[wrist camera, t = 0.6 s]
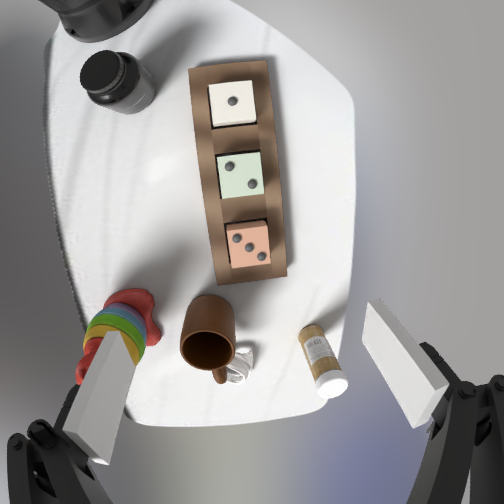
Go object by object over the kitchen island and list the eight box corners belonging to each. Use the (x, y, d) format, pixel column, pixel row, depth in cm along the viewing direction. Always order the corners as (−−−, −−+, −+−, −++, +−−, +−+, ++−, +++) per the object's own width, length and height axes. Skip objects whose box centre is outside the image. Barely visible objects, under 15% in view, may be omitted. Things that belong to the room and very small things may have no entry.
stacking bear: (163, 342, 44) (142, 424, 28) (111, 340, 44) (77, 413, 27) (152, 288, 41) (116, 366, 24) (96, 287, 40) (44, 356, 23)
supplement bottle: (147, 119, 32) (113, 107, 21) (106, 110, 31) (61, 99, 20) (164, 73, 30) (139, 44, 19) (122, 66, 29) (85, 40, 18)
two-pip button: (217, 157, 33) (216, 157, 30) (257, 152, 34) (260, 152, 31) (222, 195, 35) (222, 199, 32) (261, 190, 35) (264, 194, 32)
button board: (190, 72, 30) (188, 68, 28) (264, 64, 31) (266, 60, 29) (217, 279, 41) (217, 285, 39) (284, 270, 41) (287, 276, 40)
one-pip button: (210, 90, 30) (208, 84, 27) (249, 86, 30) (251, 79, 27) (214, 126, 32) (213, 124, 29) (253, 122, 32) (256, 119, 29)
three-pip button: (226, 224, 37) (226, 231, 34) (264, 220, 37) (267, 226, 34) (231, 259, 38) (232, 268, 35) (267, 254, 39) (270, 263, 36)
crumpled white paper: (252, 371, 50) (257, 391, 45) (217, 375, 49) (220, 395, 44) (252, 342, 46) (257, 362, 42) (213, 346, 45) (215, 367, 41)
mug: (244, 347, 46) (248, 386, 37) (202, 354, 46) (199, 393, 37) (227, 288, 42) (228, 323, 33) (180, 297, 42) (170, 334, 33)
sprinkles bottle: (298, 346, 47) (317, 402, 34) (297, 326, 45) (319, 382, 33) (322, 341, 47) (347, 395, 34) (323, 321, 45) (351, 375, 33)
